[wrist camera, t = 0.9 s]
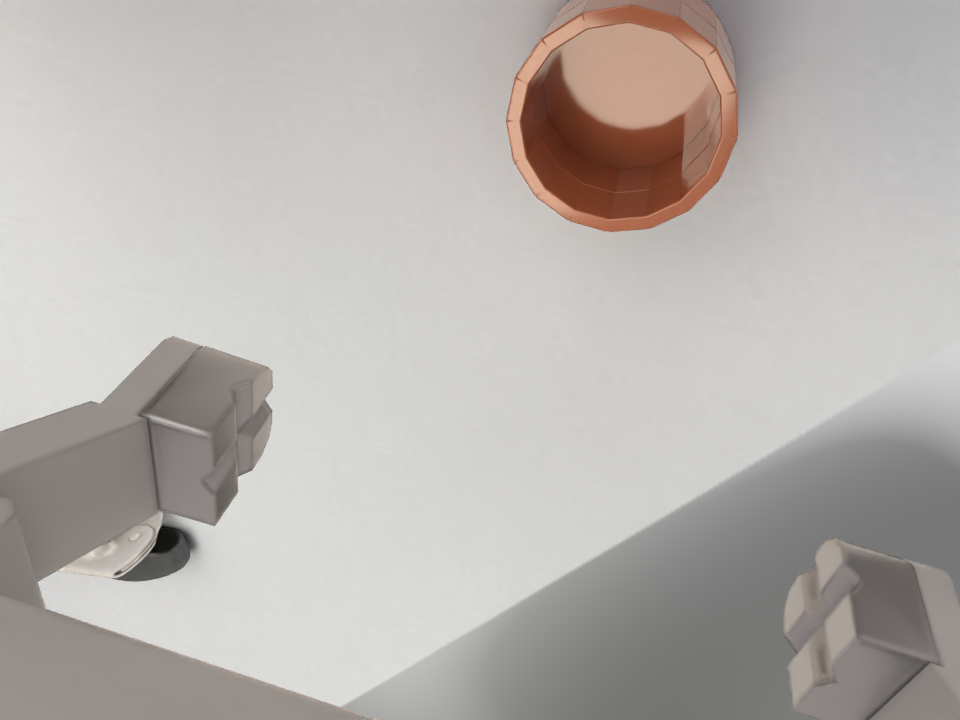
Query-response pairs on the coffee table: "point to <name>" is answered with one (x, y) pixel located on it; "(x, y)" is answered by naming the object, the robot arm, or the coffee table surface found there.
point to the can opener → (136, 554)
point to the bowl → (625, 111)
